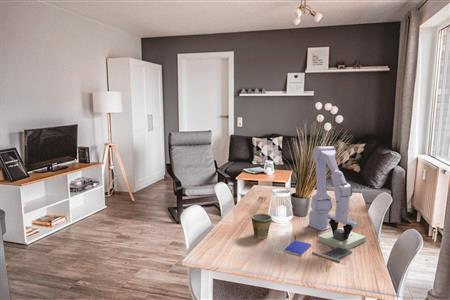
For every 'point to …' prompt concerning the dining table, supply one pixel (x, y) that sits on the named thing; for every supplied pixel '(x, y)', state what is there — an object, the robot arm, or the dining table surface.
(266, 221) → the ceramic cup
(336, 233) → the grey rectangular block
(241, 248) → the dining table surface
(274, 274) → the dining table surface
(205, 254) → the dining table surface
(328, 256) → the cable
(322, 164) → the robot arm
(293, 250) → the hard drive
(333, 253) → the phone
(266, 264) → the dining table surface
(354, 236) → the outlet plate
